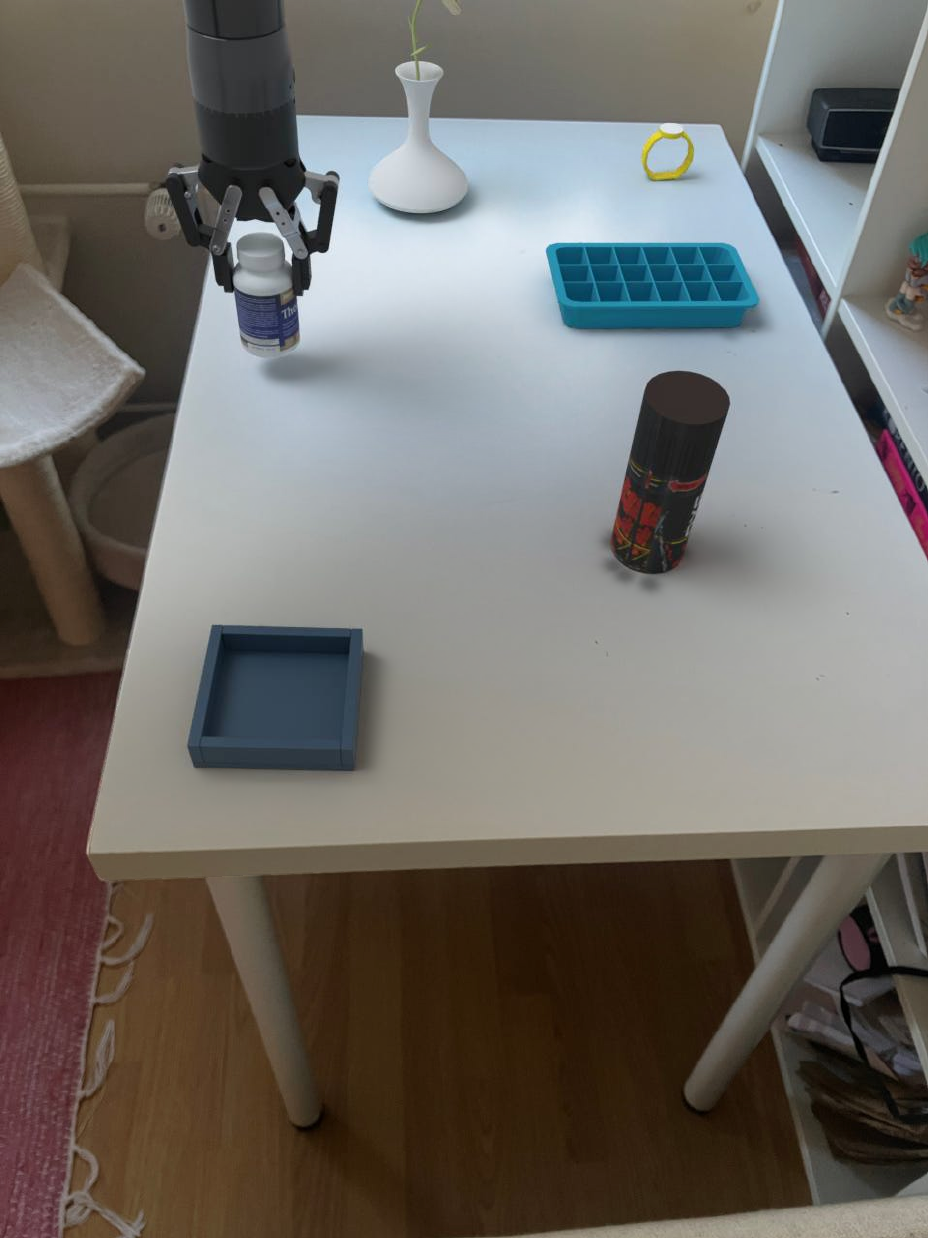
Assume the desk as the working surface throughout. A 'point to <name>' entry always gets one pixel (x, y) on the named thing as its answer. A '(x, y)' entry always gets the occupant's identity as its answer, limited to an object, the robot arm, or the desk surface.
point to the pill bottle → (265, 296)
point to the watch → (669, 133)
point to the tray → (278, 698)
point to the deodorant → (668, 469)
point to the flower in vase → (419, 146)
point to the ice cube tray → (650, 284)
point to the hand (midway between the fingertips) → (265, 288)
